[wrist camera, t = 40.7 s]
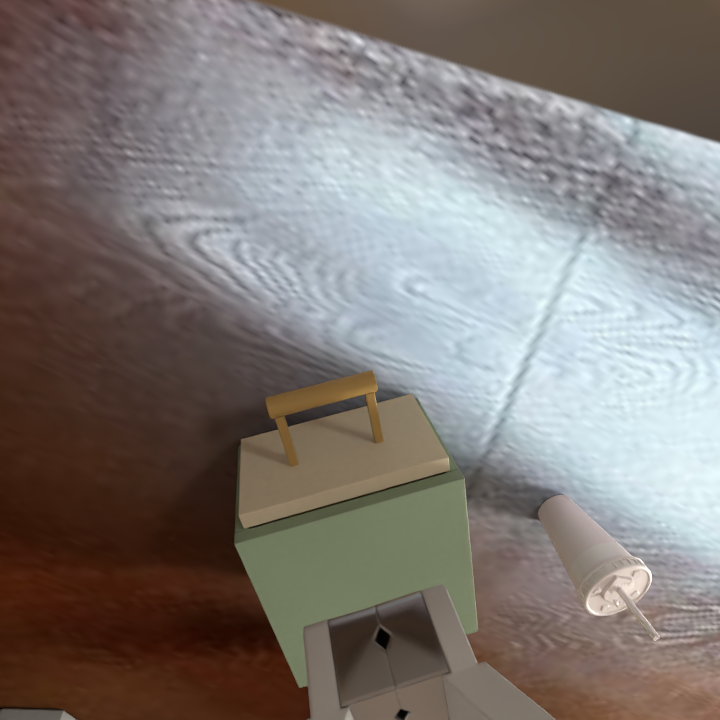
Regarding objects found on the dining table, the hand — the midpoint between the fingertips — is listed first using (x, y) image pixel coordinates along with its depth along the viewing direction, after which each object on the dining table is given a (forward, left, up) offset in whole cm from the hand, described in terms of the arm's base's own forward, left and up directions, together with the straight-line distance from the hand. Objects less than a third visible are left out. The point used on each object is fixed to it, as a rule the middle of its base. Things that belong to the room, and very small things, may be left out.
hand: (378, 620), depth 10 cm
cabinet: (+7, -20, -25) cm, 33 cm away
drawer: (+6, -15, -24) cm, 29 cm away
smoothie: (+29, -22, -25) cm, 44 cm away
